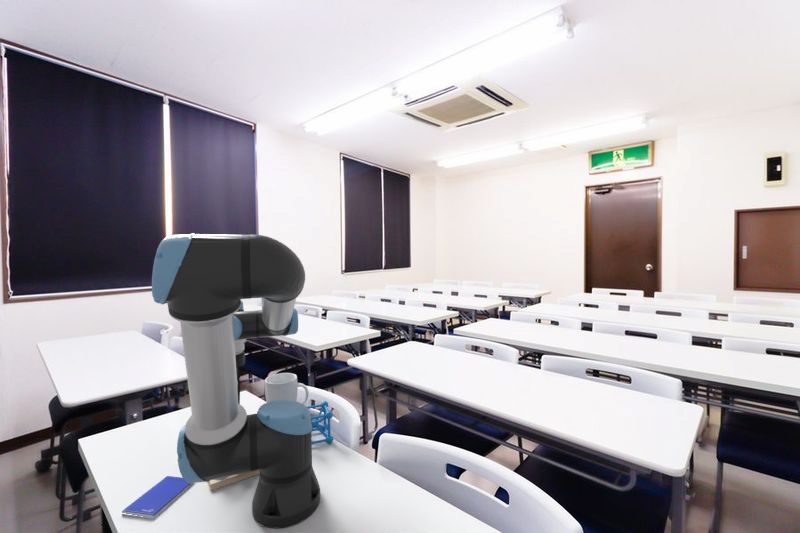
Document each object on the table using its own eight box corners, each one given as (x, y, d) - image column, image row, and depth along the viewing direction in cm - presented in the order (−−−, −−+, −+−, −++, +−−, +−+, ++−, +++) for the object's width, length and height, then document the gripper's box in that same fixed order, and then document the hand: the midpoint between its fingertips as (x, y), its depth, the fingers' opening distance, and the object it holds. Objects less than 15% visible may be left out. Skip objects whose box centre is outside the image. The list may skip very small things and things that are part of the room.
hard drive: (153, 514, 79) (194, 478, 91) (121, 509, 81) (166, 475, 93) (153, 521, 79) (194, 484, 92) (122, 516, 81) (166, 481, 93)
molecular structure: (333, 444, 109) (333, 412, 108) (300, 451, 105) (299, 418, 105) (328, 428, 118) (327, 399, 118) (296, 434, 114) (296, 404, 114)
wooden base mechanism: (261, 472, 95) (260, 449, 95) (210, 490, 88) (209, 466, 88) (242, 435, 114) (241, 416, 114) (199, 448, 107) (198, 427, 107)
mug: (309, 404, 136) (308, 370, 136) (308, 417, 126) (307, 381, 125) (268, 408, 133) (267, 374, 132) (263, 422, 122) (262, 385, 122)
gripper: (249, 355, 103) (251, 435, 104) (239, 345, 113) (242, 419, 114) (220, 360, 98) (223, 444, 99) (213, 349, 109) (215, 425, 110)
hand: (233, 430), depth 107 cm, fingers closed
